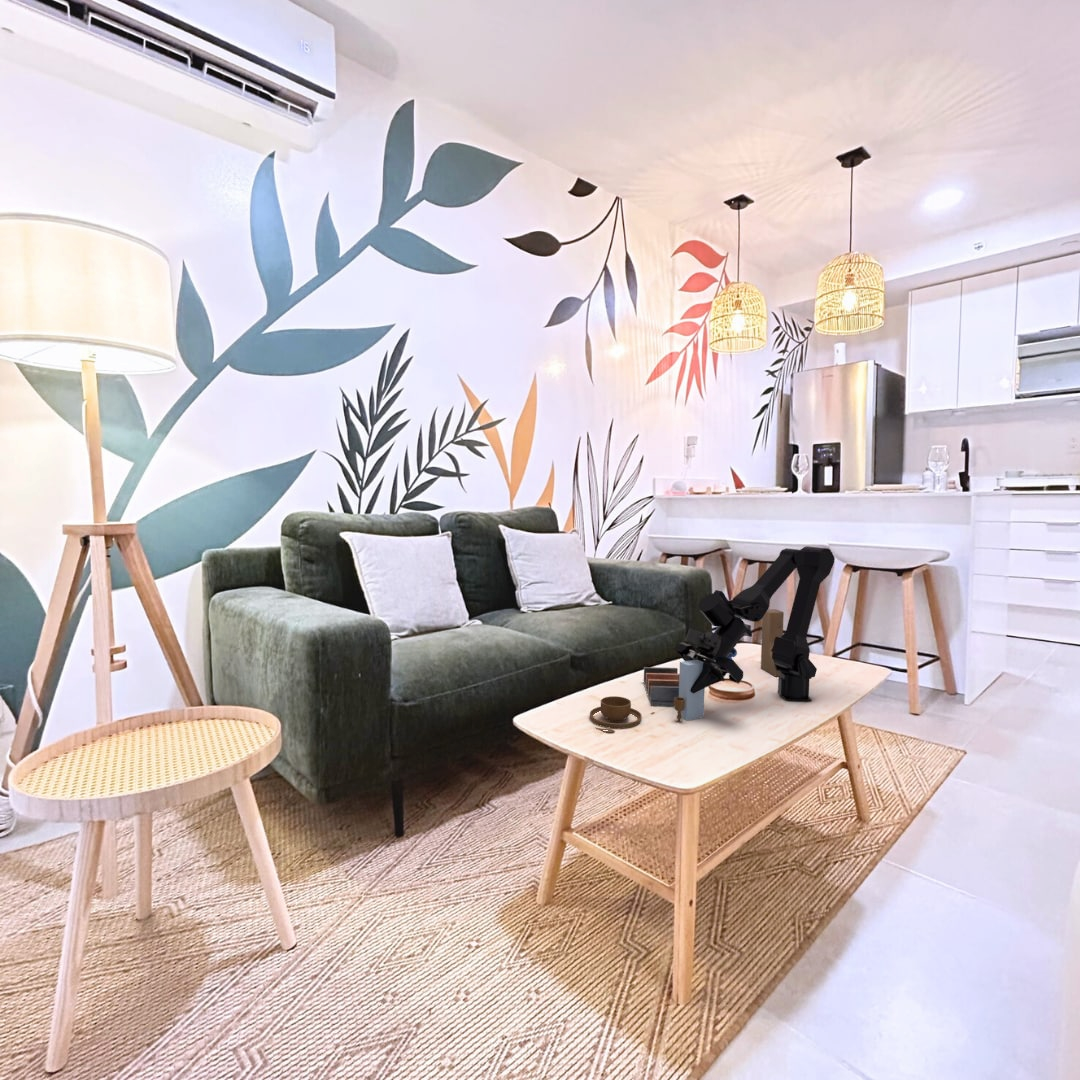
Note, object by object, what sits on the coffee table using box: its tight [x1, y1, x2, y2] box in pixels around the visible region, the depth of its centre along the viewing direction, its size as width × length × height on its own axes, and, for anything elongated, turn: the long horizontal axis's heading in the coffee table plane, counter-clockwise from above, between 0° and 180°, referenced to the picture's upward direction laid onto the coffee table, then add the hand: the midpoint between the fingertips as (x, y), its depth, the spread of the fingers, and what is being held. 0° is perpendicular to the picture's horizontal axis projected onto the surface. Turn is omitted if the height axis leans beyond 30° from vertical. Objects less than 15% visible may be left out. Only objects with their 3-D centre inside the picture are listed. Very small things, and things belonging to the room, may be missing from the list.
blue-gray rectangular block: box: [678, 660, 706, 722], centre depth 141 cm, size 5×3×13 cm, turn 115°
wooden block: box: [760, 608, 784, 678], centre depth 176 cm, size 9×4×18 cm, turn 8°
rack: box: [642, 666, 680, 708], centre depth 158 cm, size 9×19×4 cm, turn 176°
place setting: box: [589, 695, 685, 734], centre depth 138 cm, size 18×20×6 cm
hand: (686, 689), depth 140 cm, fingers closed on blue-gray rectangular block, 3 cm apart
